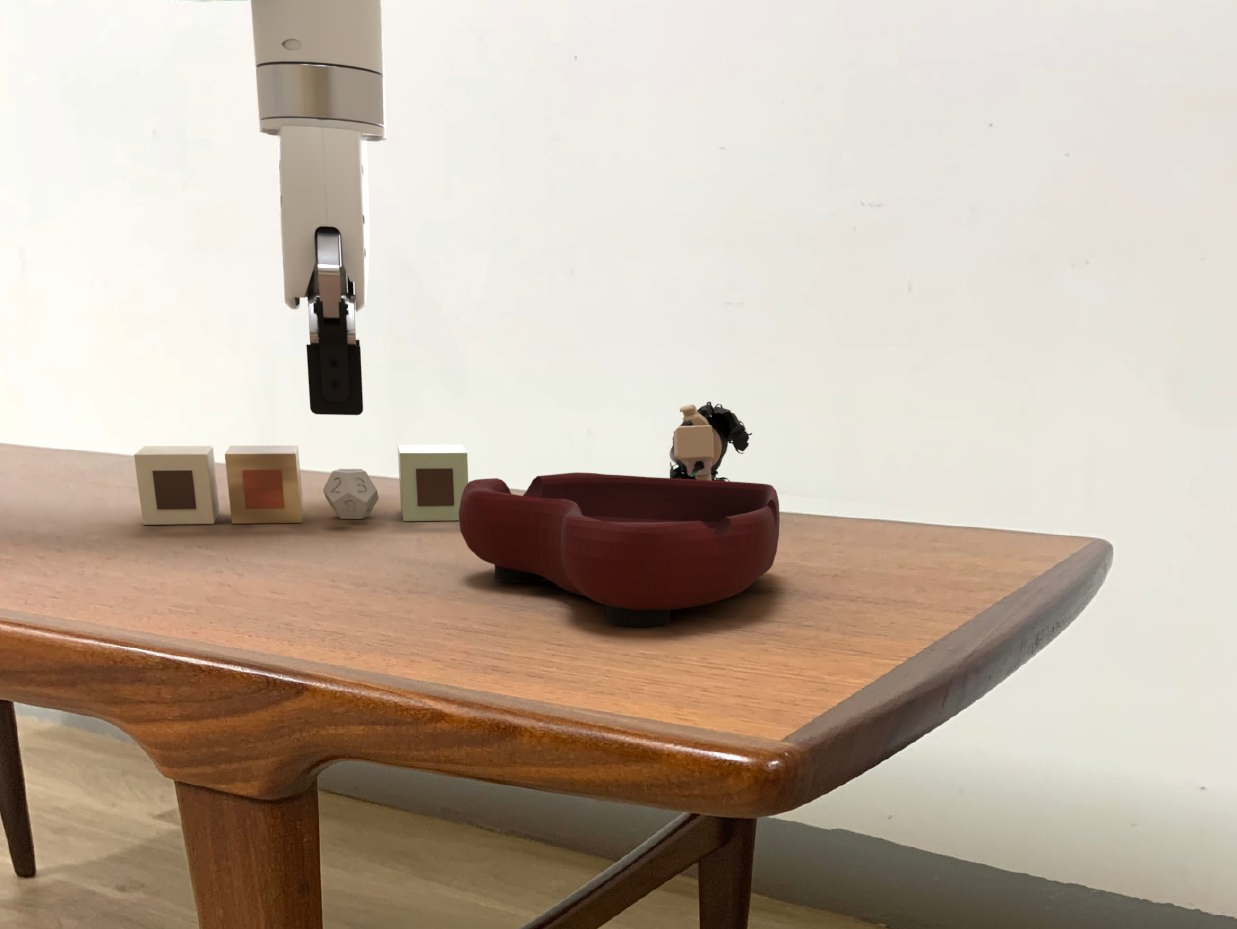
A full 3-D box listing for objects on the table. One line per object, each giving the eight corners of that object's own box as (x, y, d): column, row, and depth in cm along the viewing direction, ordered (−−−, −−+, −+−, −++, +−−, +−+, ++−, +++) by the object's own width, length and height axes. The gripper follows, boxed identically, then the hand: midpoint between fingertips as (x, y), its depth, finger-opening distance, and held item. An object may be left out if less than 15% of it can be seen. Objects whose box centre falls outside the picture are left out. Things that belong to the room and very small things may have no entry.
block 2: (231, 524, 87) (224, 454, 85) (237, 513, 91) (230, 445, 89) (301, 523, 87) (295, 453, 86) (303, 512, 91) (297, 445, 90)
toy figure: (664, 522, 91) (672, 491, 105) (756, 517, 91) (752, 487, 104) (658, 412, 88) (667, 395, 102) (753, 406, 88) (749, 390, 102)
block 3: (403, 521, 89) (399, 453, 87) (401, 510, 93) (397, 445, 91) (469, 520, 89) (467, 452, 88) (464, 509, 93) (462, 444, 92)
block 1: (142, 525, 85) (133, 454, 84) (152, 514, 89) (143, 446, 88) (214, 524, 86) (206, 454, 85) (220, 513, 90) (213, 445, 89)
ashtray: (879, 603, 69) (888, 504, 67) (615, 644, 60) (616, 532, 58) (677, 546, 82) (679, 462, 80) (437, 573, 73) (432, 480, 71)
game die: (319, 513, 91) (316, 468, 90) (373, 511, 92) (370, 466, 91) (330, 522, 88) (327, 475, 87) (386, 519, 89) (383, 472, 88)
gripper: (266, 120, 87) (284, 396, 94) (247, 85, 72) (271, 418, 78) (382, 127, 89) (392, 398, 96) (389, 95, 73) (400, 421, 80)
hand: (337, 407), depth 87 cm, fingers open, 9 cm apart
